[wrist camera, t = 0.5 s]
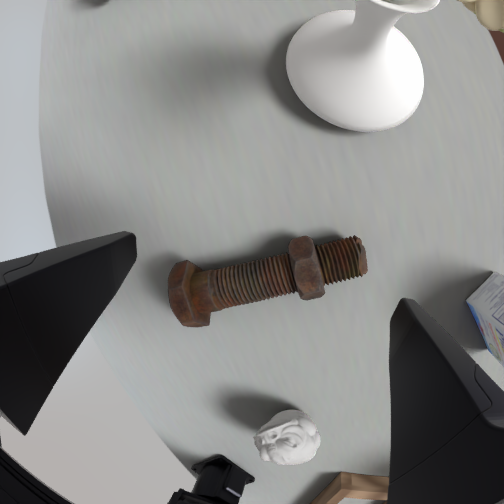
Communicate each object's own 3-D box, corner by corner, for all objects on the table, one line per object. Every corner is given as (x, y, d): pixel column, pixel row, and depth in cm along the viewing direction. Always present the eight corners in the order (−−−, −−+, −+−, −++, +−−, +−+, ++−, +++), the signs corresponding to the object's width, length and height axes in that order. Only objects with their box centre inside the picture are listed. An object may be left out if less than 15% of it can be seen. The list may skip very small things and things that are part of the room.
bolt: (356, 254, 25) (199, 291, 28) (350, 207, 22) (175, 253, 25) (374, 303, 21) (191, 341, 24) (373, 255, 18) (160, 304, 21)
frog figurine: (294, 382, 27) (288, 430, 20) (333, 421, 27) (334, 469, 20) (248, 406, 29) (233, 453, 22) (287, 442, 29) (280, 488, 22)
